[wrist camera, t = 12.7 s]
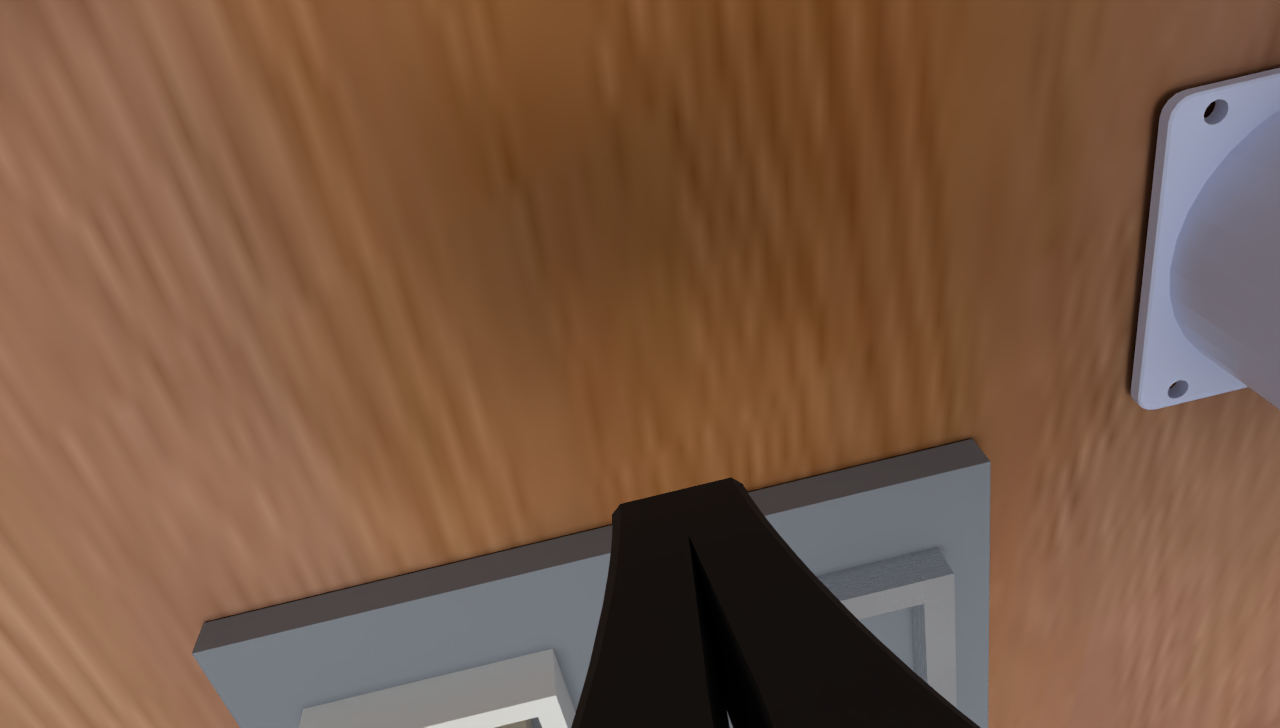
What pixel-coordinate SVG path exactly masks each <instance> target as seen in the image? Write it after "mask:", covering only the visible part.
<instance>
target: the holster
mask: <svg viewBox="0 0 1280 728" xmlns="http://www.w3.org/2000/svg"><path fill="white" fill-rule="evenodd" d="M816 577H817V578H818V579H819V580H820V581H821V582H822V583H823V584H824V585H825V586H826V587H827V588H828V589H829V590H830V591H831V592H832V593H833V594H834V595H835V596H836V597H837V598H838V599H839V601H840V602H841V603H842V604H843V605H844V606H845V607H846V608H847V609H848V610H849V611H850V612H851V613H852V614H853V615H854V616H855V617H856V618H857V619H858V620H859V619H863V618H867V617H871V616H876V615H880V614H884V613H888V612H892V611H896V610H900V609H904V608H908V607H911V625H912V644H913V663H914V672H915V673H916V674H917V675H918V676H920V677H921V678H922V679H923V680H924V681H925V682H926V683H928V684H929V685H930V686H931V687H932V688H933V689H934V690H936V691H937V692H938V693H939V694H940V695H941V696H943V697H944V698H945V699H946V700H947V701H949V702H950V703H951V704H952V705H953V706H955V707H956V708H957V701H956V645H955V588H954V572H953V571H952V569H951V568H950V566H949V564H948V563H947V561H946V560H945V558H944V556H943V555H942V553H941V552H940V550H939V548H938V547H935V548H931V549H927V550H923V551H918V552H914V553H910V554H906V555H902V556H898V557H894V558H890V559H885V560H881V561H877V562H873V563H869V564H865V565H861V566H856V567H852V568H848V569H844V570H840V571H836V572H832V573H828V574H823V575H819V576H816Z"/></svg>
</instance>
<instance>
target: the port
mask: <svg viewBox="0 0 1280 728" xmlns="http://www.w3.org/2000/svg"><path fill="white" fill-rule="evenodd" d="M574 716H575V710H574V707H573V704H572V702H571V699H570V696H569V693H568V690H567V687H566V684H565V682H564V679H563V676H562V673H561V670H560V667H559V665H558V662H557V659H556V656H555V653H554V650H553V649H549V650H545V651H541V652H537V653H532V654H528V655H524V656H520V657H516V658H512V659H508V660H503V661H499V662H495V663H491V664H487V665H483V666H479V667H475V668H470V669H466V670H462V671H458V672H454V673H450V674H446V675H442V676H437V677H433V678H429V679H425V680H421V681H417V682H413V683H408V684H404V685H400V686H396V687H392V688H388V689H384V690H380V691H375V692H371V693H367V694H363V695H359V696H355V697H351V698H347V699H342V700H338V701H334V702H330V703H326V704H322V705H318V706H313V707H309V708H305V709H303V711H302V716H301V720H300V724H299V728H494V727H499V726H503V725H507V724H511V723H515V722H519V721H523V720H527V719H531V718H536V717H538V718H539V721H540V723H541V726H542V728H571V727H572V723H573V720H574Z"/></svg>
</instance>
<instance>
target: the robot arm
mask: <svg viewBox="0 0 1280 728" xmlns="http://www.w3.org/2000/svg"><path fill="white" fill-rule="evenodd" d="M1213 101H1215V104H1216V105H1215V107H1214V110H1213V112H1212V113H1211V114H1210V115H1209V116H1208V117H1206V118H1204V113H1205V110H1206V108H1207V107H1208V106H1209V105H1210V104H1211V102H1213ZM1175 382H1177V383H1176V384H1175V385H1174V386H1173V387H1172V388H1170V389H1169V387H1170V386H1171V385H1172V384H1173V383H1175ZM1247 387H1249V388H1250V389H1252V390H1253V391H1255V392H1256V393H1257V394H1259V395H1260V396H1261V397H1263V398H1264V399H1266V400H1267V401H1268V402H1270V403H1271V404H1273V405H1274V406H1275V407H1277V408H1278V409H1279V410H1280V68H1276V69H1272V70H1267V71H1263V72H1259V73H1255V74H1250V75H1246V76H1242V77H1238V78H1233V79H1229V80H1225V81H1220V82H1216V83H1212V84H1208V85H1203V86H1199V87H1195V88H1191V89H1186V90H1183V91H1181V92H1179V93H1176V94H1175V95H1174V96H1173V97H1171V98H1170V99H1169V100H1168V101H1167V103H1166V104H1165V106H1164V107H1163V109H1162V111H1161V115H1160V118H1159V127H1158V137H1157V146H1156V156H1155V165H1154V175H1153V184H1152V194H1151V203H1150V213H1149V222H1148V232H1147V241H1146V251H1145V260H1144V270H1143V279H1142V289H1141V298H1140V308H1139V317H1138V327H1137V336H1136V346H1135V356H1134V365H1133V375H1132V384H1131V397H1132V399H1133V400H1134V401H1135V402H1136V403H1137V404H1138V405H1139V406H1141V407H1142V408H1144V409H1147V410H1155V409H1159V408H1164V407H1168V406H1172V405H1176V404H1180V403H1184V402H1189V401H1193V400H1197V399H1201V398H1205V397H1209V396H1214V395H1218V394H1222V393H1226V392H1230V391H1234V390H1239V389H1243V388H1247ZM727 713H728V714H727ZM728 715H729V718H730V721H731V724H732V727H733V728H981V727H979V726H978V725H977V724H976V723H974V722H973V721H972V720H971V719H969V718H968V717H967V716H966V715H964V714H963V713H962V712H961V711H959V710H958V709H957V708H956V707H955V706H953V705H952V704H951V703H950V702H949V701H947V700H946V699H945V698H944V697H943V696H941V695H940V694H939V693H938V692H937V691H936V690H934V689H933V688H932V687H931V686H930V685H929V684H928V683H926V682H925V681H924V680H923V679H922V678H921V677H920V676H918V675H917V674H916V673H915V672H914V671H913V670H912V669H911V668H909V667H908V666H907V665H906V664H905V663H904V662H903V661H902V660H901V659H900V658H898V657H897V656H896V655H895V654H894V653H893V652H892V651H891V650H890V649H889V648H888V647H886V646H885V645H884V644H883V643H882V642H881V641H880V640H879V639H878V638H877V637H876V636H875V635H874V634H873V633H872V632H871V631H869V630H868V629H867V628H866V627H865V626H864V625H863V624H862V623H861V622H860V621H859V620H858V619H857V618H856V617H855V616H854V615H853V614H852V613H851V612H850V611H849V610H848V609H847V608H846V607H845V606H844V605H843V604H842V603H841V602H840V601H839V599H838V598H837V597H836V596H835V595H834V594H833V593H832V592H831V591H830V590H829V589H828V588H827V587H826V586H825V585H824V584H823V583H822V582H821V581H820V580H819V579H818V578H817V577H816V576H815V575H814V574H813V572H812V571H811V570H810V569H809V568H808V567H807V566H806V565H805V564H804V562H803V561H802V560H801V559H800V558H799V557H798V556H797V555H796V553H795V552H794V551H793V550H792V549H791V548H790V546H789V545H788V544H787V543H786V542H785V541H784V539H783V538H782V537H781V536H780V535H779V533H778V532H777V531H776V530H775V529H774V527H773V526H772V525H771V524H770V522H769V521H768V520H767V518H766V517H765V516H764V515H763V513H762V512H761V511H760V509H759V508H758V506H757V505H756V504H755V502H754V501H753V499H752V498H751V497H750V495H749V494H748V492H747V491H746V489H745V487H744V486H743V484H742V483H740V482H738V481H736V480H735V479H733V478H727V479H723V480H719V481H715V482H711V483H706V484H702V485H698V486H694V487H690V488H686V489H681V490H677V491H673V492H669V493H665V494H660V495H656V496H652V497H648V498H644V499H640V500H635V501H631V502H627V503H623V504H620V505H619V507H618V508H617V509H616V510H615V512H614V513H613V514H612V543H611V554H610V563H609V570H608V577H607V583H606V588H605V594H604V600H603V606H602V610H601V615H600V619H599V624H598V628H597V633H596V637H595V642H594V646H593V650H592V655H591V659H590V664H589V668H588V671H587V675H586V679H585V682H584V686H583V689H582V693H581V696H580V699H579V703H578V706H577V710H576V713H575V716H574V720H573V723H572V727H571V728H730V726H729V720H728Z"/></svg>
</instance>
